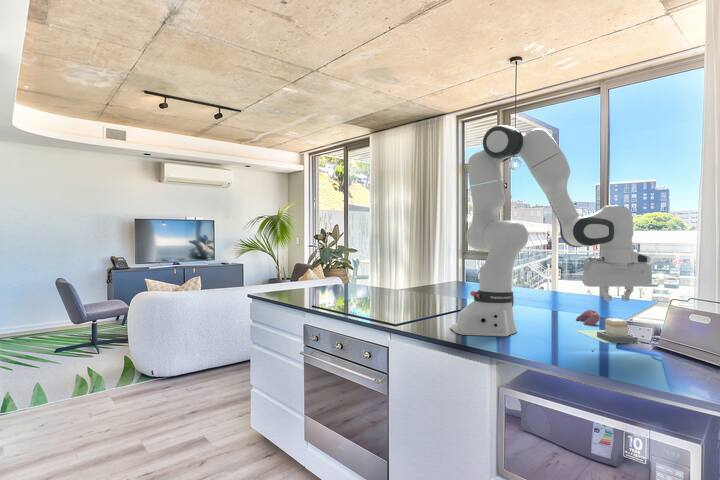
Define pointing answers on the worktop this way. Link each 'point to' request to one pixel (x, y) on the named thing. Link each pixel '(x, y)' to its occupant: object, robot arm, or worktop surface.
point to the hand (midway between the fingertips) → (616, 300)
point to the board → (608, 337)
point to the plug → (616, 327)
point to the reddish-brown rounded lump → (589, 317)
